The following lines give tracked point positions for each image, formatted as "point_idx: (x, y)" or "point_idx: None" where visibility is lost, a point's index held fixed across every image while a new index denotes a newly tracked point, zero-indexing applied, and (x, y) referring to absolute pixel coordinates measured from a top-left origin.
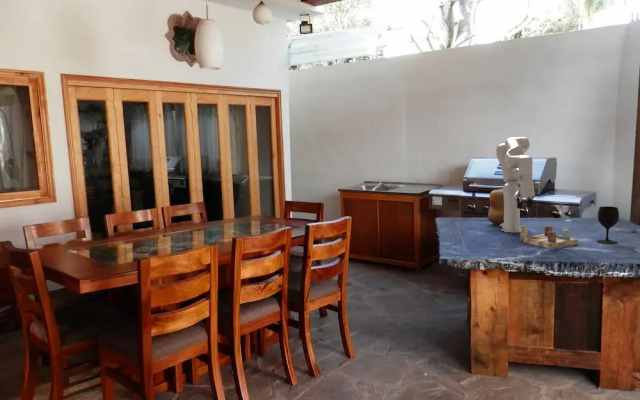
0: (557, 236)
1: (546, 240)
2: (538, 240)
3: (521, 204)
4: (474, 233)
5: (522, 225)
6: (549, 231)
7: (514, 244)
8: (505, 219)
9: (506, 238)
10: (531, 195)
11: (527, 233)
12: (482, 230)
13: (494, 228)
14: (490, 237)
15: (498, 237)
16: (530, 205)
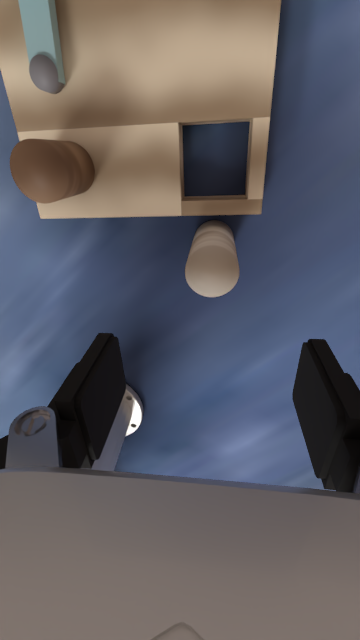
0: (59, 57)
1: (218, 12)
2: (269, 56)
3: (348, 381)
4: (263, 450)
5: (209, 288)
6: (65, 145)
7: (345, 197)
8: (117, 459)
9: (240, 326)
10: (52, 508)
11: (203, 233)
12: (192, 461)
13: (126, 458)
14: (281, 377)
15: (251, 359)
16: (110, 358)
